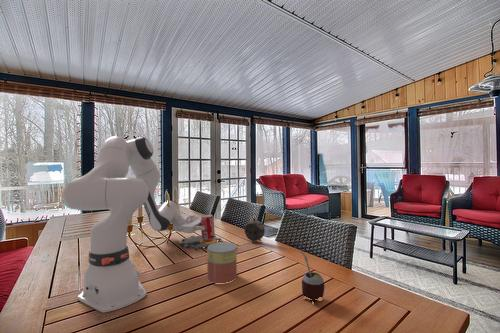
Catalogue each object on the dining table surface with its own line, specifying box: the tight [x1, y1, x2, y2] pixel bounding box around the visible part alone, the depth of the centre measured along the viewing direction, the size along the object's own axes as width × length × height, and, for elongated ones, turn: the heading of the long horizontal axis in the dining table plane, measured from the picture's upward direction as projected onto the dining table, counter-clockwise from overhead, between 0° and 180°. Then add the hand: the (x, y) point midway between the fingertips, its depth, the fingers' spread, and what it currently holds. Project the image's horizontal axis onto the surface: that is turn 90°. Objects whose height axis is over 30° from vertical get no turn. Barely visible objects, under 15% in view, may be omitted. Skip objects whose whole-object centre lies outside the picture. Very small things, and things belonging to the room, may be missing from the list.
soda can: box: [200, 213, 216, 241], centre depth 139 cm, size 7×7×13 cm
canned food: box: [206, 241, 238, 283], centre depth 97 cm, size 11×11×12 cm
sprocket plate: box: [179, 235, 222, 250], centre depth 138 cm, size 22×22×2 cm
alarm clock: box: [244, 212, 266, 242], centre depth 139 cm, size 11×5×16 cm, turn 58°
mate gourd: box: [299, 248, 325, 302], centre depth 82 cm, size 8×8×15 cm
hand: (208, 225), depth 137 cm, fingers open, 8 cm apart
